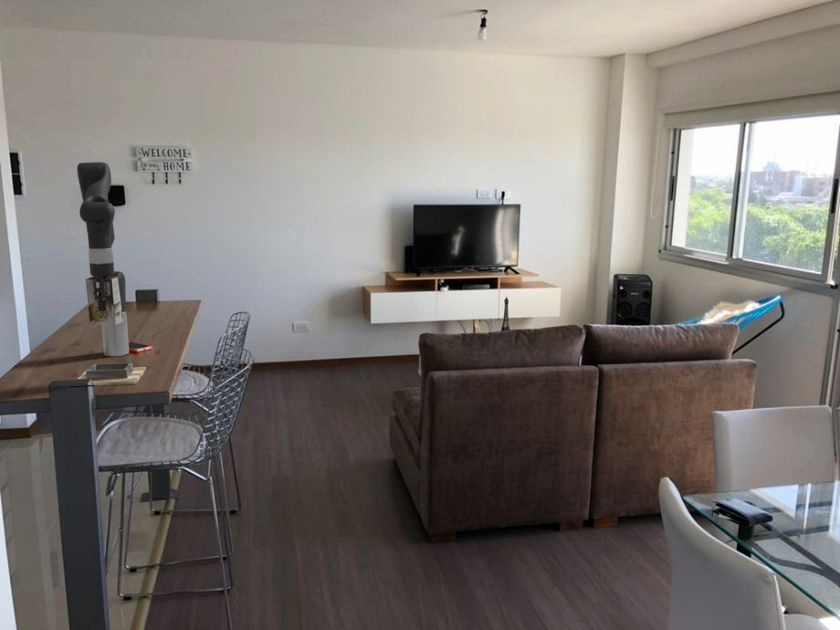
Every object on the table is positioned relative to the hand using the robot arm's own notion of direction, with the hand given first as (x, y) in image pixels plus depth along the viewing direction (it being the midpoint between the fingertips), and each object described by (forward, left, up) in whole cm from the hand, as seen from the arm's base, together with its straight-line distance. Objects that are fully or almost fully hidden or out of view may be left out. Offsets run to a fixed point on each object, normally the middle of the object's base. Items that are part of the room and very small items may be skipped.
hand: (105, 308), depth 231 cm
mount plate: (0, 0, -25) cm, 25 cm away
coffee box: (0, 0, -5) cm, 5 cm away
